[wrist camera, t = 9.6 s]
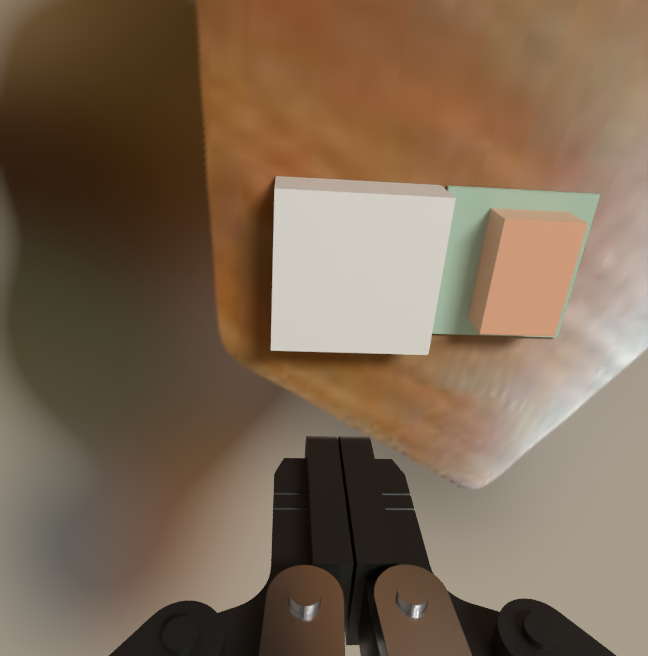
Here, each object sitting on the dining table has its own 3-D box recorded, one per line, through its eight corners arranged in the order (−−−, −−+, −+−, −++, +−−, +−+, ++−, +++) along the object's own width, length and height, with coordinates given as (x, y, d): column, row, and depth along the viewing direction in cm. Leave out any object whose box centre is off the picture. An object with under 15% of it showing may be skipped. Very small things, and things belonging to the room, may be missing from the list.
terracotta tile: (587, 222, 37) (567, 211, 40) (505, 218, 37) (490, 207, 39) (554, 336, 41) (538, 319, 44) (479, 334, 41) (467, 317, 44)
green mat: (447, 185, 39) (448, 186, 39) (597, 193, 40) (600, 194, 40) (422, 331, 44) (423, 333, 44) (555, 335, 45) (557, 337, 45)
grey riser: (275, 176, 38) (274, 188, 34) (440, 185, 39) (455, 198, 35) (272, 326, 43) (270, 350, 40) (417, 331, 44) (428, 355, 41)
